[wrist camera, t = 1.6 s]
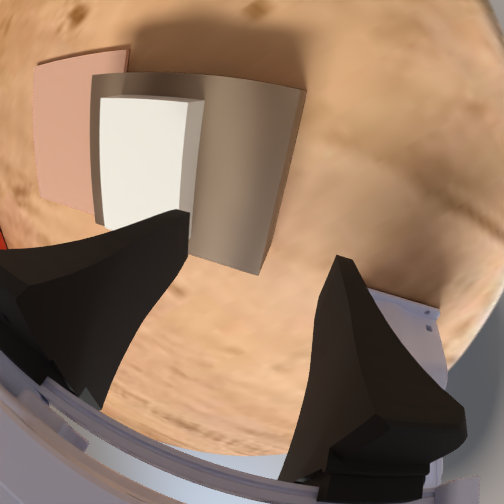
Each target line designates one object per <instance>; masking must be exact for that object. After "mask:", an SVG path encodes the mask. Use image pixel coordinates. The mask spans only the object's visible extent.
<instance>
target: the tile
mask: <svg viewBox="0 0 504 504" xmlns="http://www.w3.org/2000/svg"><path fill="white" fill-rule="evenodd" d="M204 103H205V100H198V99H189V98H178V97H166V96H150V95H116V96H110V97H104V98H101V101H100V176H101V192H102V205H103V215H104V224H105V228H107V229H110V230H116V229H119V228H122V227H125V226H128V225H131V224H133V223H136V222H139V221H141V220H144V219H147V218H149V217H152V216H155V215H158V214H160V213H163V212H166V211H170V210H174V209H178V210H182V211H186V212H190V224H189V238H190V237H191V230H192V216H193V203H194V191H195V180H196V169H197V160H198V150H199V141H200V133H201V125H202V117H203V110H204Z"/></svg>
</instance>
